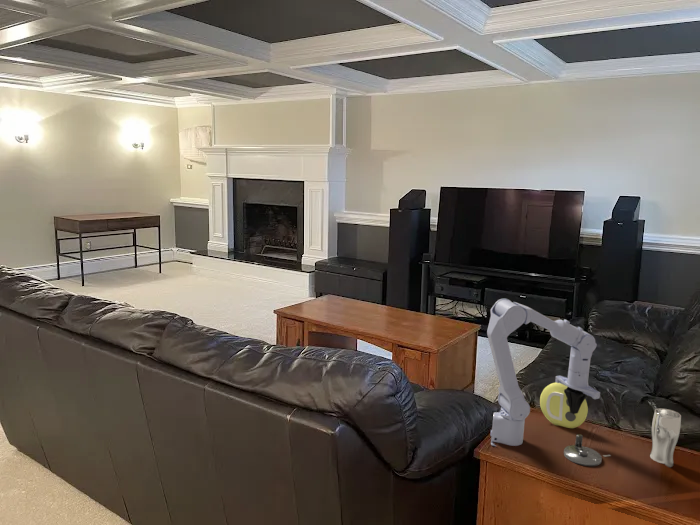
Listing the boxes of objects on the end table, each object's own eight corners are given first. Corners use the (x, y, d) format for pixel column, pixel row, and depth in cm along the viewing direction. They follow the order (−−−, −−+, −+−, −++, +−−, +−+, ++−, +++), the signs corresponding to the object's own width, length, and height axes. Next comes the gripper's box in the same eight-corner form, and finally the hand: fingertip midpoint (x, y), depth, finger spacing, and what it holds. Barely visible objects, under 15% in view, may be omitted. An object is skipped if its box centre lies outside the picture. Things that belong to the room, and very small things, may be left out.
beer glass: (665, 470, 153) (672, 420, 150) (642, 458, 159) (648, 410, 156) (680, 465, 156) (687, 416, 154) (656, 453, 162) (663, 406, 160)
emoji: (536, 423, 180) (583, 436, 170) (538, 379, 178) (586, 389, 169) (541, 419, 183) (588, 432, 174) (544, 376, 182) (591, 386, 172)
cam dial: (606, 468, 151) (607, 454, 150) (568, 463, 152) (569, 449, 151) (595, 449, 161) (596, 435, 160) (559, 445, 163) (561, 432, 162)
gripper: (608, 376, 160) (603, 419, 162) (568, 360, 172) (563, 401, 174) (592, 379, 156) (587, 424, 159) (552, 363, 169) (548, 405, 171)
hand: (573, 412), depth 166 cm, fingers closed
